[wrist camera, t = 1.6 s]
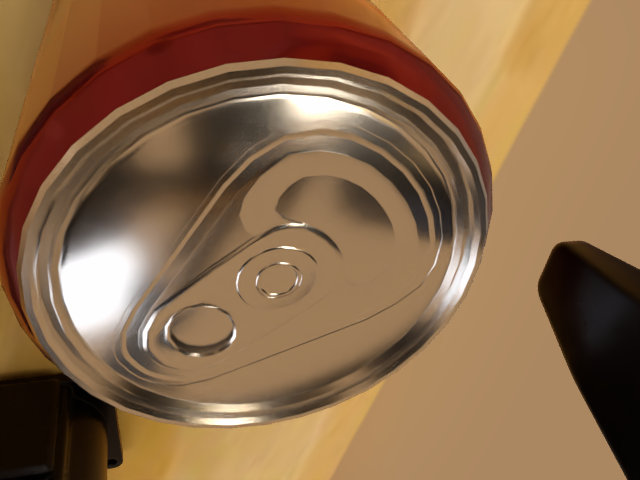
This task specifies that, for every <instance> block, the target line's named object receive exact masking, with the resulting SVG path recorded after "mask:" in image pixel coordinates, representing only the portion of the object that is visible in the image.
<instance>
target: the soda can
mask: <svg viewBox="0 0 640 480" xmlns="http://www.w3.org/2000/svg"><path fill="white" fill-rule="evenodd" d="M491 215H492V172H491V165H490V161H489V158H488V154H487V150H486V146H485V143H484V139H483V135H482V131H481V128H480V126H479V124H478V122H477V120H476V119H475V117H474V115H473V113H472V112H471V110H470V108H469V106H468V104H467V103H466V101H465V99H464V97H463V96H462V94H461V92H460V91H459V90H458V89H457V88H456V87H455V86H454V85H453V84H452V83H451V82H450V81H449V80H448V79H447V78H446V76H445V75H444V74H443V73H442V72H441V71H440V70H439V69H438V68H437V67H436V66H435V65H434V64H433V63H432V62H431V61H430V60H429V59H428V58H427V57H426V56H425V55H424V54H423V53H422V52H421V51H420V50H419V49H418V48H417V47H416V46H415V45H414V44H413V43H412V42H411V41H410V40H409V39H408V38H407V37H406V36H405V35H404V34H403V33H402V32H401V31H400V30H399V29H398V28H397V27H396V26H395V25H394V24H393V23H392V22H391V21H390V20H389V19H388V18H387V17H386V16H385V15H384V14H383V13H382V12H381V11H380V10H379V9H378V8H377V7H376V6H375V5H374V4H373V3H372V2H371V1H370V0H53V4H52V7H51V11H50V14H49V18H48V21H47V25H46V28H45V31H44V35H43V38H42V42H41V45H40V49H39V52H38V56H37V59H36V63H35V66H34V70H33V73H32V77H31V80H30V84H29V87H28V91H27V94H26V98H25V101H24V105H23V108H22V112H21V115H20V119H19V122H18V126H17V129H16V133H15V136H14V140H13V143H12V147H11V150H10V154H9V157H8V161H7V164H6V168H5V171H4V174H3V178H2V181H1V185H0V282H1V285H2V287H3V289H4V292H5V294H6V296H7V298H8V300H9V303H10V305H11V307H12V309H13V311H14V313H15V316H16V318H17V320H18V322H19V324H20V326H21V328H22V329H23V330H24V331H25V333H26V334H27V335H28V336H29V338H30V339H31V340H32V341H33V343H34V344H35V345H36V346H37V347H38V349H39V350H40V351H41V352H42V354H43V355H44V356H45V357H46V358H47V359H49V360H50V361H51V362H52V363H54V364H55V365H56V366H57V367H58V369H59V370H60V371H62V372H63V373H64V374H65V375H67V376H68V377H69V378H70V379H72V380H73V381H74V382H76V383H77V384H78V385H79V386H81V387H82V388H83V389H84V390H86V391H87V392H88V393H90V394H91V395H93V396H95V397H97V398H99V399H101V400H103V401H105V402H107V403H108V404H110V405H112V406H114V407H116V408H118V409H120V410H122V411H125V412H128V413H131V414H135V415H138V416H141V417H144V418H147V419H150V420H154V421H157V422H163V423H169V424H175V425H181V426H188V427H198V428H238V427H248V426H258V425H267V424H272V423H276V422H281V421H285V420H290V419H295V418H299V417H303V416H306V415H309V414H312V413H315V412H318V411H321V410H323V409H326V408H329V407H332V406H335V405H337V404H340V403H342V402H344V401H346V400H348V399H350V398H352V397H354V396H356V395H358V394H361V393H363V392H365V391H367V390H369V389H370V388H372V387H373V386H375V385H377V384H378V383H380V382H381V381H383V380H385V379H386V378H388V377H389V376H391V375H392V374H394V373H396V372H397V371H399V370H400V369H401V368H402V367H403V366H405V365H406V364H407V363H408V362H409V361H410V360H412V359H413V358H414V357H415V356H417V355H418V354H419V353H420V352H421V351H423V350H424V349H425V348H426V347H427V346H428V345H429V344H430V342H431V341H432V340H433V339H434V338H435V337H436V336H437V335H438V334H439V333H440V332H441V331H442V329H443V328H444V327H445V326H446V325H447V324H448V323H449V321H450V319H451V318H452V316H453V315H454V313H455V312H456V311H457V309H458V308H459V306H460V304H461V303H462V301H463V300H464V298H465V297H466V295H467V293H468V290H469V288H470V286H471V284H472V282H473V279H474V277H475V275H476V272H477V270H478V268H479V265H480V263H481V259H482V254H483V249H484V247H485V243H486V239H487V234H488V229H489V224H490V220H491Z"/></svg>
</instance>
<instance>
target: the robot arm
mask: <svg viewBox="0 0 640 480" xmlns="http://www.w3.org/2000/svg"><path fill="white" fill-rule="evenodd" d="M538 293H539V297H540V300H541V302H542V304H543V307H544V309H545V312H546V314H547V317H548V319H549V321H550V324H551V326H552V329H553V331H554V334H555V336H556V339H557V341H558V343H559V346H560V348H561V351H562V353H563V356H564V358H565V360H566V363H567V365H568V367H569V370H570V372H571V374H572V376H573V379H574V381H575V383H576V385H577V386H578V389H579V391H580V392H581V394H582V396H583V398H584V400H585V402H586V404H587V406H588V407H589V409H590V411H591V413H592V415H593V417H594V419H595V420H596V422H597V424H598V426H599V428H600V430H601V432H602V434H603V435H604V437H605V439H606V441H607V443H608V445H609V447H610V448H611V450H612V452H613V454H614V456H615V458H616V460H617V461H618V463H619V465H620V467H621V469H622V471H623V473H624V475H625V476H626V478H627V480H640V269H638V268H636V267H634V266H632V265H630V264H627V263H626V262H624V261H622V260H620V259H618V258H616V257H614V256H612V255H610V254H608V253H606V252H604V251H602V250H600V249H598V248H596V247H594V246H592V245H590V244H589V243H586V242H583V241H569V242H561V243H558V244H557V245H556V246H555V247H554V248H553V249H552V251H551V254H550V256H549V258H548V260H547V263H546V265H545V267H544V270H543V272H542V274H541V276H540V279H539V282H538ZM122 462H123V451H122V444H121V437H120V431H119V424H118V417H117V410H116V407H114V406H112V405H110V404H108V403H107V402H105V401H103V400H101V399H99V398H97V397H95V396H93V395H91V394H90V393H88V392H87V391H86V390H84V389H83V388H82V387H81V386H79V385H78V384H77V383H76V382H74V381H73V380H72V379H70V378H69V377H68V376H67V375H58V376H50V377H41V378H32V379H23V380H14V381H5V382H0V480H107V469H110V468H115V467H118V466H120V465H121V464H122Z"/></svg>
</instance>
